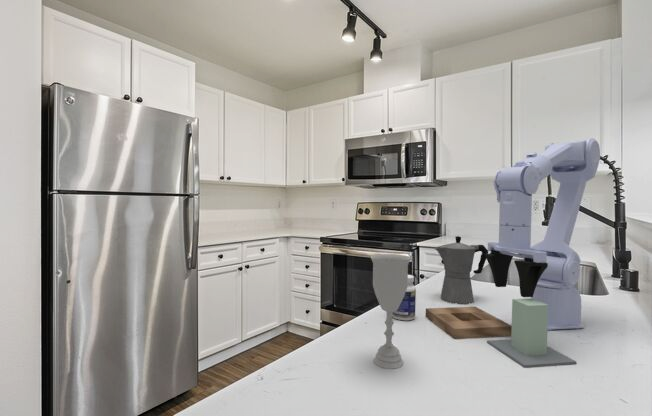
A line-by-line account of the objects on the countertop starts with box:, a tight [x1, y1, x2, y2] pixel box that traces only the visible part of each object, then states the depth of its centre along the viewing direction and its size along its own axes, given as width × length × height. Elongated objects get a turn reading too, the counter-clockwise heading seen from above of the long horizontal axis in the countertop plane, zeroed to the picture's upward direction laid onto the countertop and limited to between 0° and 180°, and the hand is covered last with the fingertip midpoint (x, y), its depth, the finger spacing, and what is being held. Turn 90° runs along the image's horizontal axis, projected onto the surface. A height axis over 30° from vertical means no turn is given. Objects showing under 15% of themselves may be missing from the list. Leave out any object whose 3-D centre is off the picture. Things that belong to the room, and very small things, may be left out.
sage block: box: [510, 297, 548, 356], centre depth 62 cm, size 4×4×9 cm
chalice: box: [370, 253, 412, 370], centre depth 58 cm, size 7×7×18 cm
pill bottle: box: [392, 274, 417, 321], centre depth 80 cm, size 6×6×10 cm
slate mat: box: [486, 338, 577, 368], centre depth 62 cm, size 10×10×1 cm
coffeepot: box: [434, 235, 489, 305], centre depth 95 cm, size 15×9×18 cm, turn 94°
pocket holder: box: [425, 306, 512, 340], centre depth 75 cm, size 13×13×2 cm
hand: (513, 291), depth 69 cm, fingers open, 7 cm apart
